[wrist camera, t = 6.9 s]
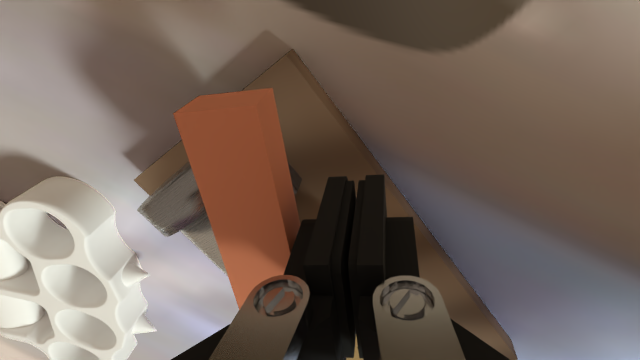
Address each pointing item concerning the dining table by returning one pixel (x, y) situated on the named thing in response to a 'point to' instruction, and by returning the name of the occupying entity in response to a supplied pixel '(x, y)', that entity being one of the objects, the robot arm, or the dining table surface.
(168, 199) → the water pipe
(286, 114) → the valve board
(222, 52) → the dining table surface
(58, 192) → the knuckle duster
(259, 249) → the lever
